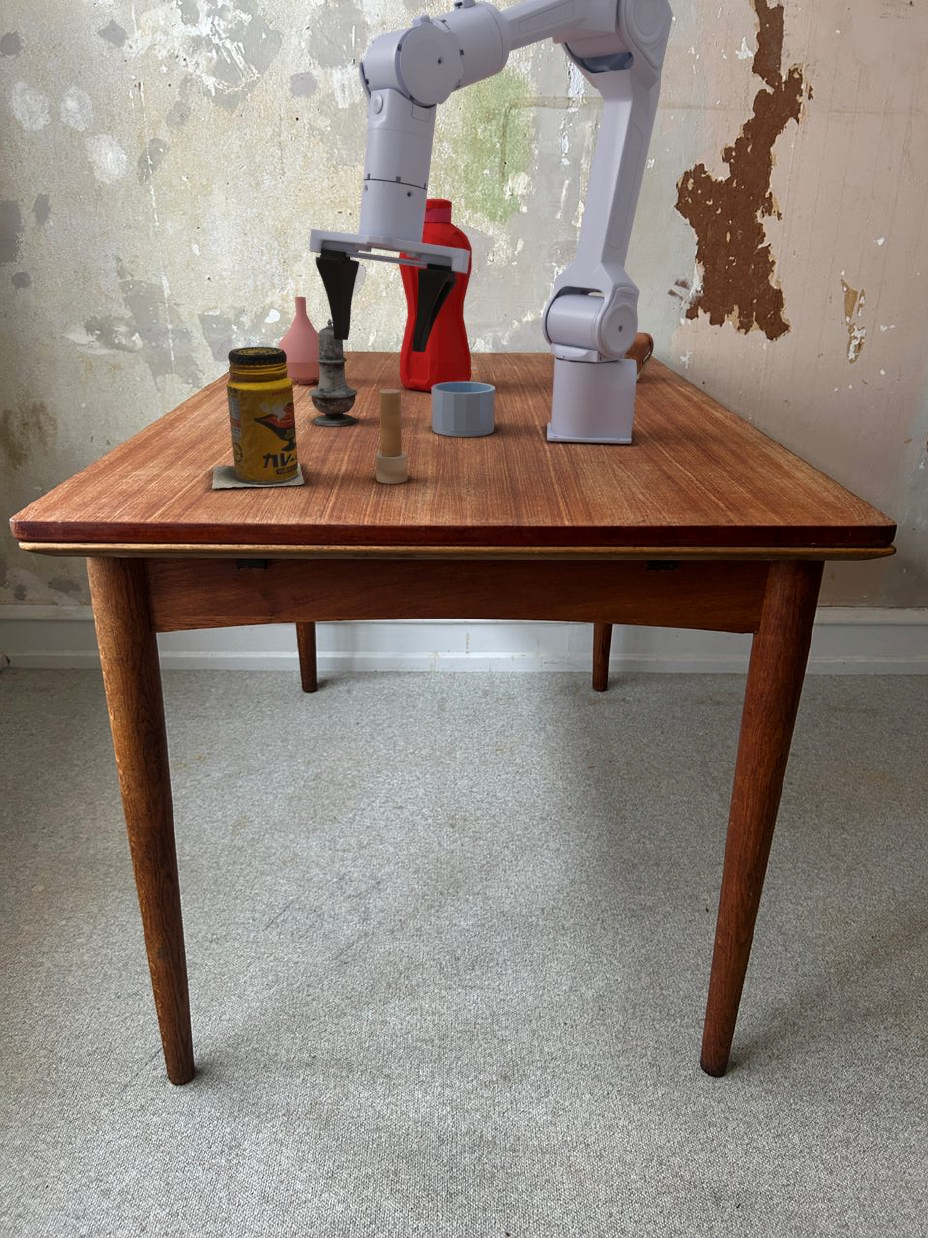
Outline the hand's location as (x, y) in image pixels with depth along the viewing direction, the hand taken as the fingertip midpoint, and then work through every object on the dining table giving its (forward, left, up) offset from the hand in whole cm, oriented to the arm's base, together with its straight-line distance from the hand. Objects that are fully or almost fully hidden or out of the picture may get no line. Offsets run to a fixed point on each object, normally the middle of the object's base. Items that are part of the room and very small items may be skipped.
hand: (379, 345), depth 83 cm
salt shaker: (+10, -22, -12) cm, 27 cm away
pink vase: (+20, -47, -13) cm, 53 cm away
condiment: (+12, +3, -13) cm, 17 cm away
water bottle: (0, -47, -13) cm, 49 cm away
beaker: (-6, -20, -12) cm, 24 cm away
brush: (-1, +2, -12) cm, 12 cm away
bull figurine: (-26, -60, -13) cm, 67 cm away
